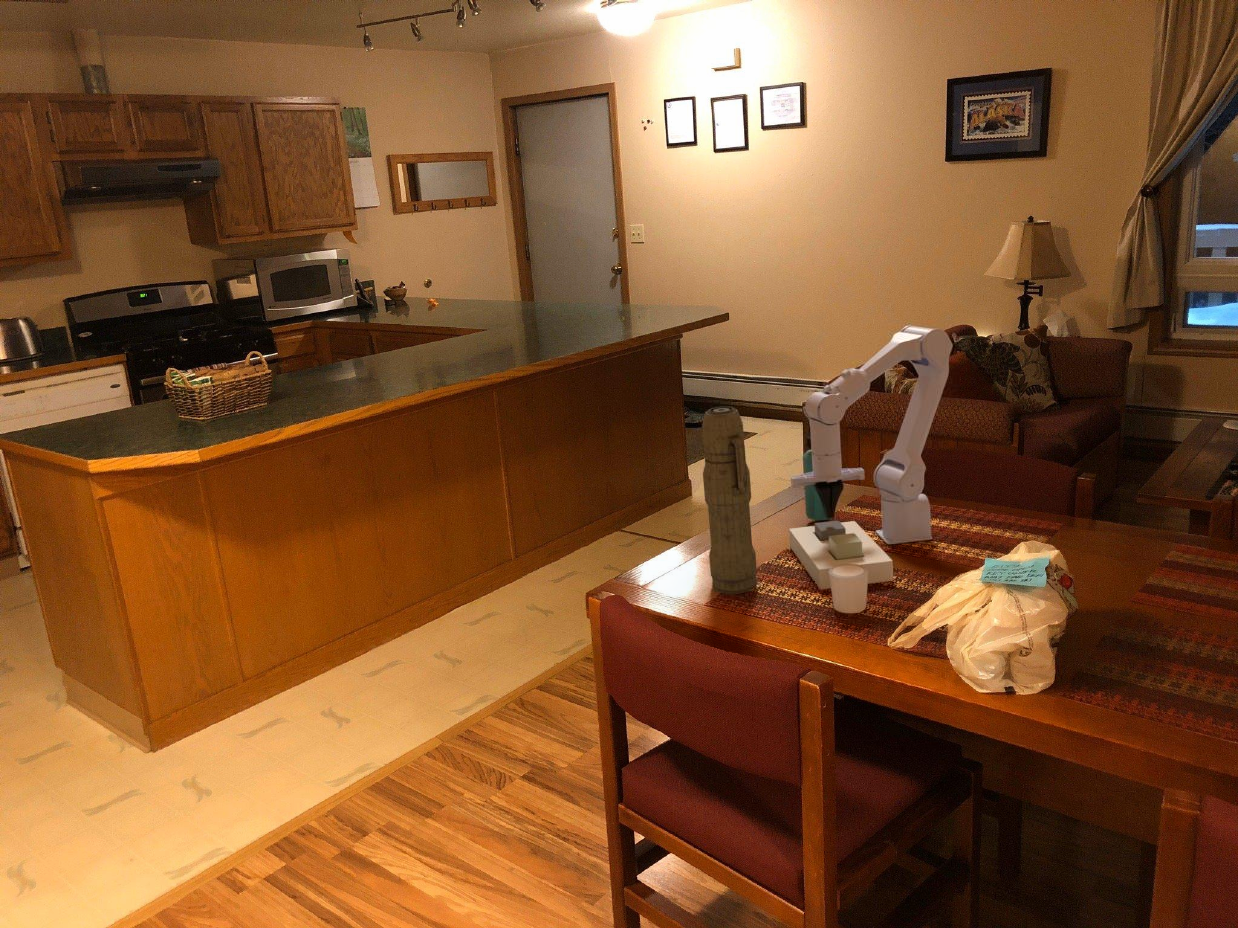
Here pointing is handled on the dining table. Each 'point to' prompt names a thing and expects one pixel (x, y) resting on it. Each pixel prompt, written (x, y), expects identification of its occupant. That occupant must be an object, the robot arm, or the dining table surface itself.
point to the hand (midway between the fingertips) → (829, 516)
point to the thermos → (728, 502)
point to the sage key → (845, 546)
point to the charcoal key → (828, 530)
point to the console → (821, 559)
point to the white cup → (849, 587)
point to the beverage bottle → (812, 490)
